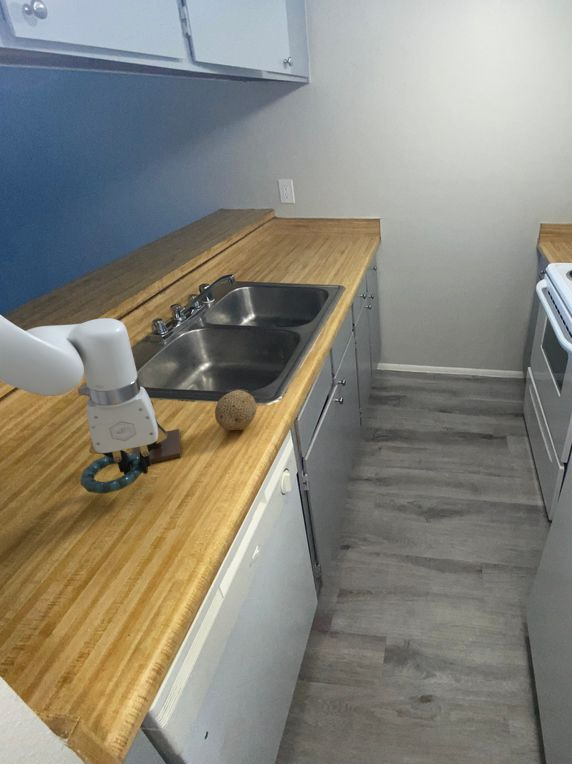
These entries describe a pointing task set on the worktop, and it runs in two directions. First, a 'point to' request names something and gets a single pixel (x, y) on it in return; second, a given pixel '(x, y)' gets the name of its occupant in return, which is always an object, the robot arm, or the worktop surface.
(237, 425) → the natural sponge
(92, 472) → the ring
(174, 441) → the post
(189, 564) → the worktop surface
